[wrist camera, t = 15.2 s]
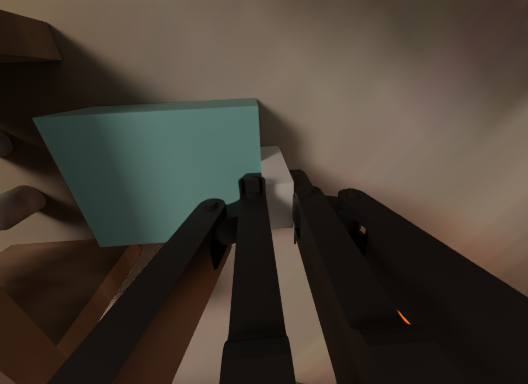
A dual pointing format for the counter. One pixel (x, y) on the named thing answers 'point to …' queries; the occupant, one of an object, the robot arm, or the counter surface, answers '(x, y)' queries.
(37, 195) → the shelf
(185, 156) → the teal rectangular block
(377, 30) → the counter surface
